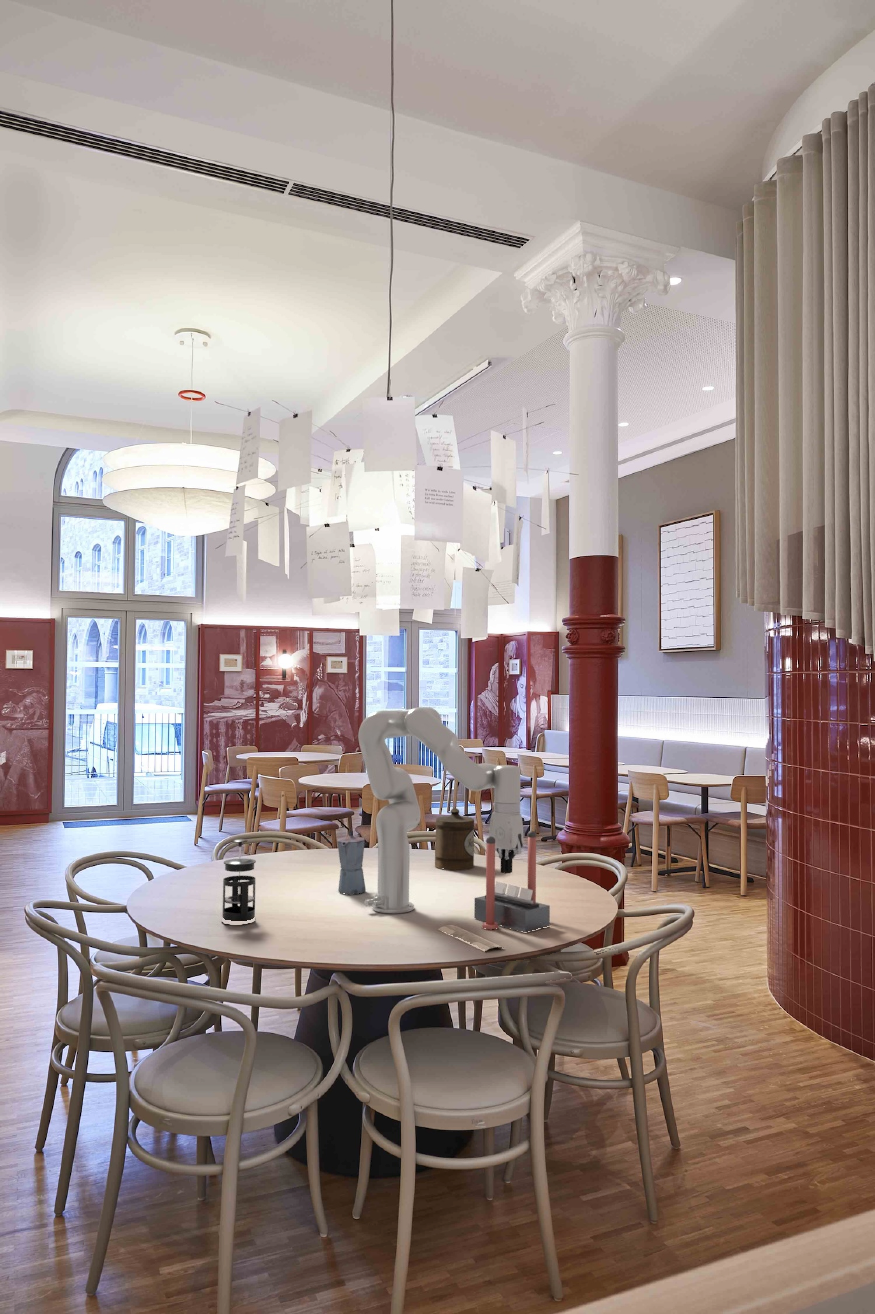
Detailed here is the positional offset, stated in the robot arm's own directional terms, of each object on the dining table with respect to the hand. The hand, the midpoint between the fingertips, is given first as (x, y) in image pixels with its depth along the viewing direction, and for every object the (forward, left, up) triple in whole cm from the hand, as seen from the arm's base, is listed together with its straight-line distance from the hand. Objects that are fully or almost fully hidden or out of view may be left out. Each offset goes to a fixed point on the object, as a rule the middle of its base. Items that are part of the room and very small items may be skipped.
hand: (506, 872), depth 246 cm
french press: (-59, +48, -14) cm, 77 cm away
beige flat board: (-21, -7, -15) cm, 27 cm away
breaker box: (0, -2, -14) cm, 14 cm away
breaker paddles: (0, -2, -7) cm, 7 cm away
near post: (-8, -2, -14) cm, 16 cm away
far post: (+9, -2, -14) cm, 16 cm away
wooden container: (+43, +69, -14) cm, 83 cm away
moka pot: (-12, +59, -14) cm, 62 cm away
